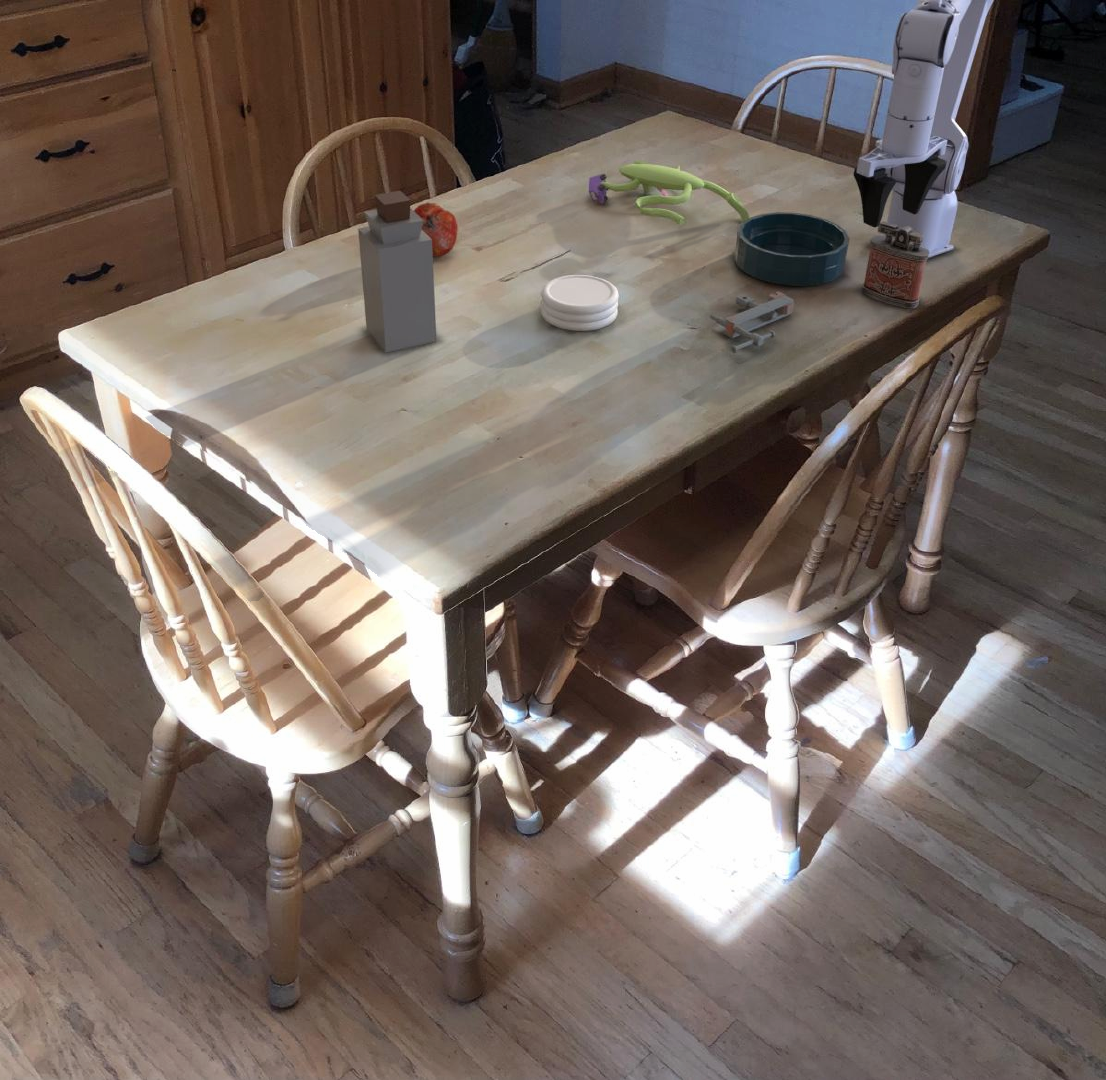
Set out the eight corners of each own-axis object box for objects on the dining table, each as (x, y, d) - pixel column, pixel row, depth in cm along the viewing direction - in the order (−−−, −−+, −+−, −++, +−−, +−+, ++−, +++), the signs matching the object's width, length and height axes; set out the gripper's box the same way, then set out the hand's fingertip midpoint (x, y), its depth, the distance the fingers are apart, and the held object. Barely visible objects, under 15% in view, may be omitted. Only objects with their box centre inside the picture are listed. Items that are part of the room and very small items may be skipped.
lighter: (922, 302, 164) (938, 231, 158) (911, 310, 162) (926, 239, 156) (868, 284, 168) (881, 215, 162) (856, 292, 166) (869, 222, 160)
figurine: (656, 252, 175) (658, 215, 172) (566, 188, 194) (567, 153, 190) (761, 229, 182) (765, 192, 179) (664, 169, 201) (667, 135, 197)
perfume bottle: (386, 352, 150) (375, 212, 139) (366, 329, 155) (355, 192, 144) (436, 341, 153) (430, 203, 142) (415, 318, 158) (408, 183, 147)
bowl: (789, 233, 181) (793, 204, 178) (866, 270, 171) (871, 240, 169) (712, 257, 174) (715, 227, 171) (788, 297, 164) (792, 266, 161)
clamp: (762, 282, 163) (819, 309, 157) (760, 297, 164) (816, 325, 158) (680, 314, 155) (737, 344, 149) (679, 329, 156) (735, 360, 150)
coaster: (529, 324, 157) (529, 299, 155) (556, 292, 164) (556, 268, 162) (603, 338, 154) (604, 313, 152) (627, 305, 162) (628, 280, 159)
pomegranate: (408, 258, 177) (390, 241, 167) (420, 209, 177) (403, 189, 167) (456, 270, 176) (442, 253, 166) (469, 220, 176) (455, 201, 166)
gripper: (924, 95, 158) (904, 196, 166) (846, 115, 151) (829, 220, 159) (968, 110, 153) (945, 213, 162) (890, 131, 146) (870, 238, 155)
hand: (890, 218), depth 160 cm, fingers open, 7 cm apart
